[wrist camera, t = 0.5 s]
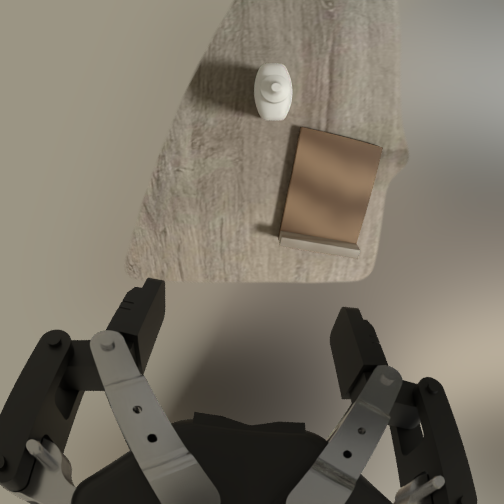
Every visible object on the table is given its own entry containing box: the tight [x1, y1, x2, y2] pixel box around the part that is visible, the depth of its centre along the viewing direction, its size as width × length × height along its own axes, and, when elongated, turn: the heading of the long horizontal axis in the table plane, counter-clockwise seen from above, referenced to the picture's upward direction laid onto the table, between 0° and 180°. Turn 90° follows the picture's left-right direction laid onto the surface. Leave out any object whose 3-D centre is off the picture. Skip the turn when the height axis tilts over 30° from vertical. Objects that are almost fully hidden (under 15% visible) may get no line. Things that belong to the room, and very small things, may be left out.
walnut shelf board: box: [278, 127, 383, 259], centre depth 34 cm, size 14×10×3 cm
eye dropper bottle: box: [254, 63, 292, 121], centre depth 25 cm, size 4×6×12 cm
